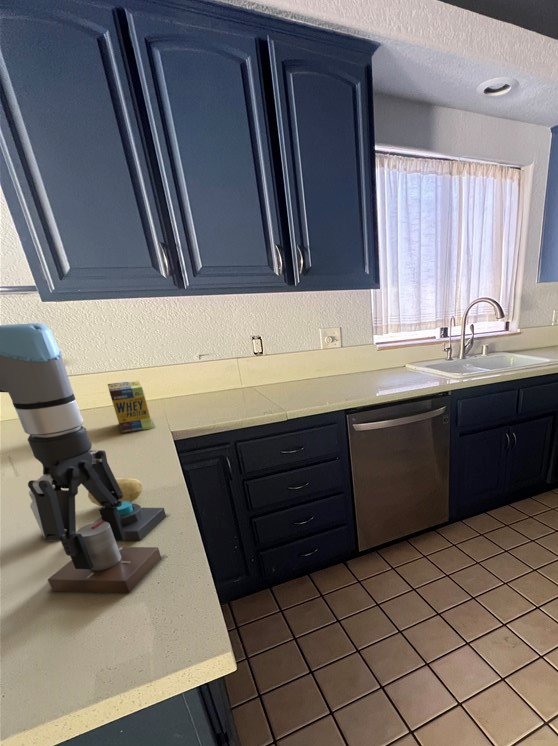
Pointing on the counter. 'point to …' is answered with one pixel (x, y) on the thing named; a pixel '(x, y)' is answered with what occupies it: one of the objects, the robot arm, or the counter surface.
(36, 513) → the eye dropper bottle
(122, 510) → the teal round puck
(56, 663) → the counter surface
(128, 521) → the push button box
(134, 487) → the potato
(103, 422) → the counter surface
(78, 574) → the dial panel
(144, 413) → the protein box
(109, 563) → the dial
